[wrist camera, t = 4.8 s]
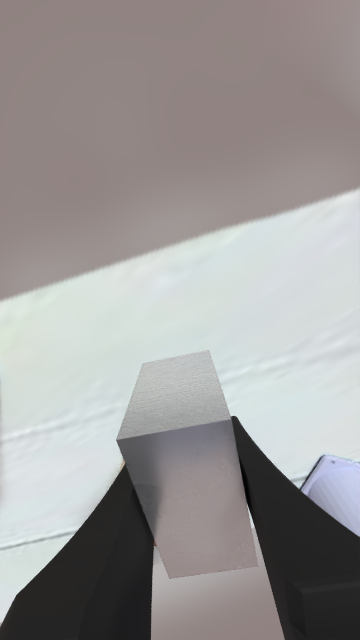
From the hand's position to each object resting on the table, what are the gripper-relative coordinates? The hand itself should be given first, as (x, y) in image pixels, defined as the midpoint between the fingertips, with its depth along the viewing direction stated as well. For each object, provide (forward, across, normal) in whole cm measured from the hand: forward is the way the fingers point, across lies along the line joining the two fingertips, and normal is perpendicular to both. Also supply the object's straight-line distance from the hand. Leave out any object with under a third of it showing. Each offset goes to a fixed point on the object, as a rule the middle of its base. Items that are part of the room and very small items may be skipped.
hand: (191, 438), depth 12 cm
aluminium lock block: (+2, 0, 0) cm, 2 cm away
